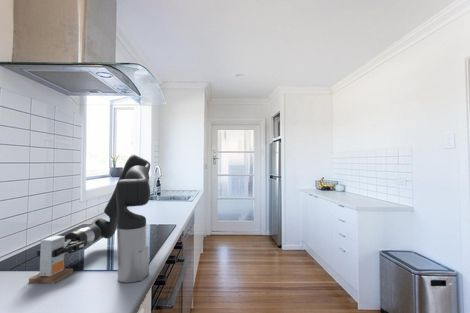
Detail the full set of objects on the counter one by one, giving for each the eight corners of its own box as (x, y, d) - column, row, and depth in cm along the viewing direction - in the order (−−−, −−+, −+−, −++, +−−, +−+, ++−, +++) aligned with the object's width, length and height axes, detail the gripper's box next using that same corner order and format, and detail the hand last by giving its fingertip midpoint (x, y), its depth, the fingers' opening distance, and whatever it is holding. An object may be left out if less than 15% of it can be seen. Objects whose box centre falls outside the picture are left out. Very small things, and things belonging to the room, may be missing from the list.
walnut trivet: (73, 271, 99) (73, 268, 99) (54, 283, 90) (54, 279, 90) (49, 271, 100) (49, 267, 100) (28, 282, 91) (28, 278, 91)
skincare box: (50, 277, 92) (51, 240, 92) (39, 276, 92) (40, 240, 93) (64, 270, 98) (65, 235, 98) (54, 269, 98) (54, 235, 98)
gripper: (62, 229, 110) (25, 242, 93) (96, 229, 108) (65, 243, 91) (62, 248, 110) (25, 264, 93) (96, 248, 108) (65, 266, 91)
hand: (45, 254), depth 92 cm, fingers open, 5 cm apart
